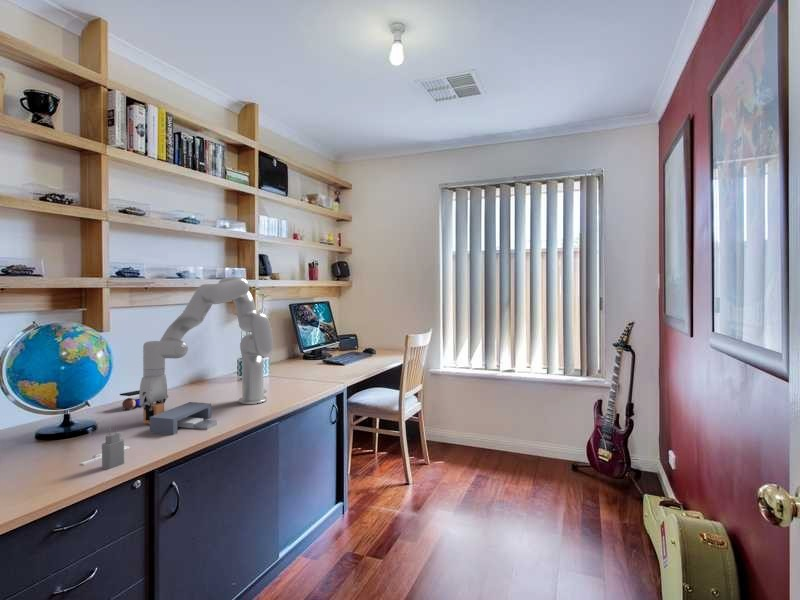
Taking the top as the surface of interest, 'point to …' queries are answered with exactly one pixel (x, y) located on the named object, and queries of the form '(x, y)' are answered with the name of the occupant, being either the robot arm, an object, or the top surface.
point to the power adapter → (112, 450)
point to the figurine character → (130, 400)
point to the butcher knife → (99, 457)
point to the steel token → (205, 424)
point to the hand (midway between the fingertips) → (154, 418)
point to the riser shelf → (178, 417)
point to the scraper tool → (184, 422)
